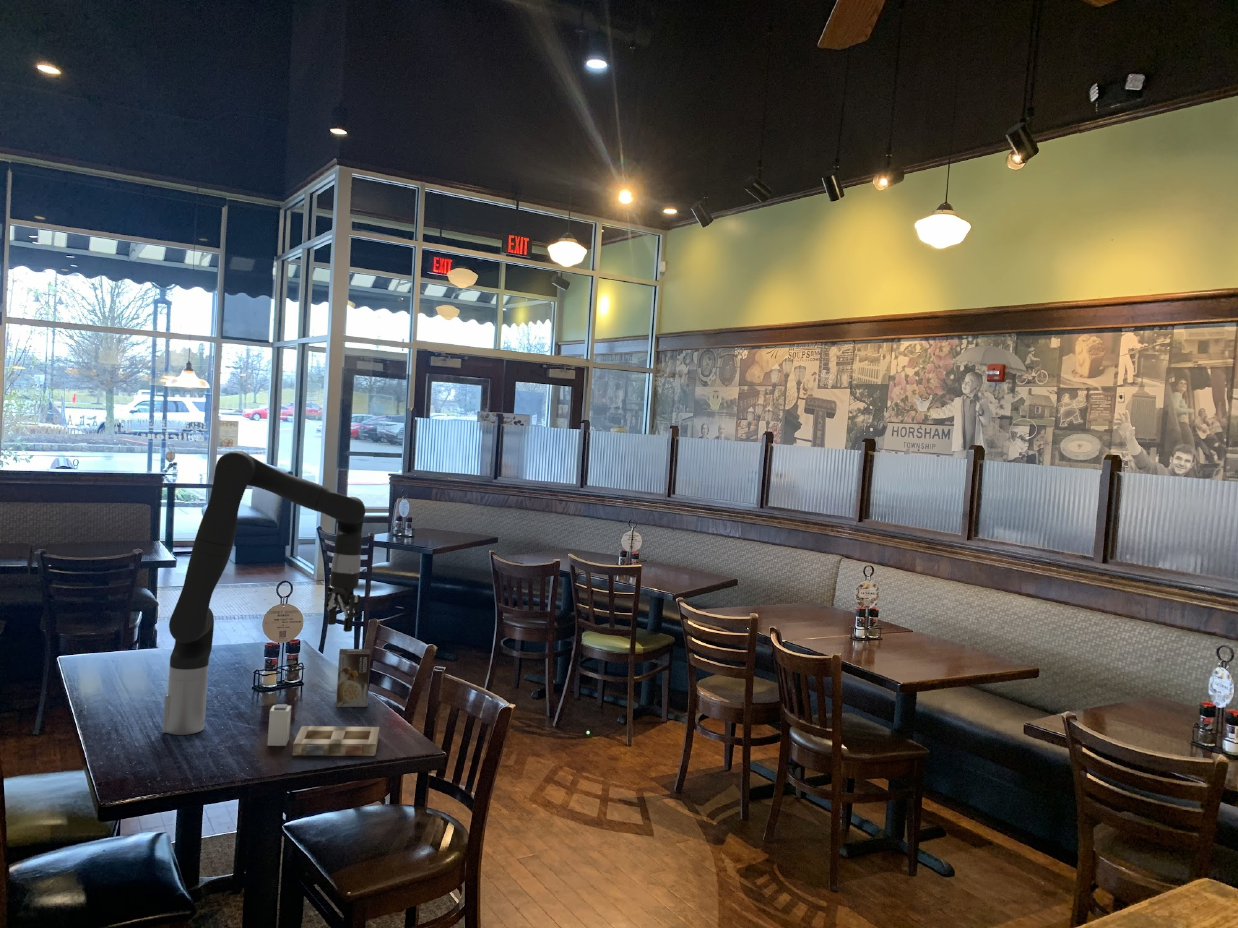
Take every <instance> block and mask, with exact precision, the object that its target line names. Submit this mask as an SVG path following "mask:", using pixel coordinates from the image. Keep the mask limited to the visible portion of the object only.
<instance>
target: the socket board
mask: <svg viewBox="0 0 1238 928" xmlns="http://www.w3.org/2000/svg"><path fill="white" fill-rule="evenodd" d="M379 737H380V726H339V725H338V726H336V725H335V726H329V725H328V726H320V725H315V726H314V725H302V726H301V727H300V729H299V730H298V733H297V735H296V738H295V740H294V741H293V745H292V746H293V747H292V756H335V757H337V756H338V757H339V756H340V757H341V756H346V757H347V756H349V757H350V756H358V757H359V756H360V757H361V756H365V757H368V756H370V757H371V756H372V757H374V756H376V752H377V748H378V742H379Z"/></svg>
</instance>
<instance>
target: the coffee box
mask: <svg viewBox="0 0 1238 928" xmlns="http://www.w3.org/2000/svg"><path fill="white" fill-rule="evenodd" d="M338 653H339V654H338V667H337V684H336V685H337V686H336V704H335V706H336V708H353V707H354V708H355V707H356V708H361V707H362V708H363V707H368V704H369V703H368V701H369V699H368V698H369V685H370V683H369V681H370V663H371V662H370V661H371V649H370V648H339V651H338Z"/></svg>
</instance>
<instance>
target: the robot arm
mask: <svg viewBox="0 0 1238 928" xmlns="http://www.w3.org/2000/svg"><path fill="white" fill-rule="evenodd" d="M247 486H249V487H254V488H259V489H262V490H265V491H266V492H270V493H273V494H275V495H277V496H279V497H281V498H283V499H285V500H287V501H288V502H291V503H293V504H296V505H298V506H300V507H304V508H306V509H309V510H312V511H314V512H317V513H321V514H324V515H325V516H329V517H331V518H332V519H335V520H337V532H336V535H335V539H334V541H335V542H334V548H333V549H334V550H333V555H332V562H331V570H330V577H329V578H330V580H329V586H326V590H325V595H324V596H325V597H324V598H325V599H324V605H323V606H324V608H327V609H326V610H327V611H328V615H327V625H329V626H332V625H336V624H337V618H338V617H337V616H338V609H339V607H340V609H341V611H342V612H343V614H344V617H345V618H344V620H343V632H344V633H348V632H352V631H353V627H354V626H353V623H354V618H358V617H359V616H360V607H361V595H360V594H354V593H355V592H354V591H355V589H356V588H358V587H359V581H360V572H361V559H362V558H361V553H362V544H363V542H362V540H363V538H362V532H363V531H362V530H363V525H364V518H365V515H366V506H365V503H364V502H363V501H362V500H361V499H360V498H359V497H356V496H347V495H344V494H341V493H339V492H335V491H334V490H332V489H331V488H328V487H327V486H323V485H321V484H318V483H316V482H313V481H310V480H307V479H305V478H302V477H298V476H295V475H293V474H290V473H287V472H285V471H281V470H279V469H276V468H275V467H272V466H270V465H268V464H266V463H265V462H262V461H260V460H259V459H257V458H255V457H253V456H251V455H250V454H249V453H247V452H246V451H242V450H232V451H227V452H226V453H224V454H222V455H221V456H220V457H219V459H218V460H217V461H216V464H215V469H214V476H213V482H212V487H211V491H210V497H209V501H208V504H207V507H206V508H205V510H204V514H203V516H202V518H201V521H200V524H199V526H198V530H197V532H196V536H195V539H194V542H193V545H192V549H191V552H190V558H189V561H188V564H187V569H186V573H185V579H184V583H183V586H182V589H181V591H180V595H179V597H178V600H177V602H176V604H175V607H174V610H172V613H171V617H170V618H169V621H168V622H169V623H168V628H169V633H170V635H171V636H172V638H173V639H174V640H175V641H174V646H173V650H172V651H171V652H172V653H170V658H169V671H168V684H167V685H168V687H167V694H166V695H165V697H164V707H163V724H162V734H166V733H167V734H170V735H175V736H184V735H185V736H186V735H192V734H197V733H199V732H202V731H203V730H204V729H205V722H206V720H205V719H206V708H207V707H206V706H207V693H208V692H207V691H208V675H209V664H210V662H209V661H210V656H211V652H212V647H213V639H214V631H215V630H214V629H215V617H214V613H213V611H212V609H211V608H210V605H211V604H210V603H211V599H212V596H213V594H214V591H215V588H216V586H217V584H218V582H219V580H220V579H221V577H222V575H223V573H224V572H225V569H226V567H227V565H228V562H229V559H230V556H231V553H232V550H233V547H234V543H235V538H236V534H237V529H238V527H237V526H238V515H239V509H240V505H241V501H242V500H243V496H244V495H245V492H246V489H247Z"/></svg>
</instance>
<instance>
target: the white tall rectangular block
mask: <svg viewBox="0 0 1238 928" xmlns="http://www.w3.org/2000/svg"><path fill="white" fill-rule="evenodd" d="M291 714H292V705H288V704H285V703H284V704H283V703H282V704H280V703H279V704H278V703H277V704H275V705H272V706H271V708H270V709H269V717H268V718H269V720H268V734H267V746H269V747H271V746H273V747H275V746H276V747H281V746H283V747H286V746H287V744H288V742H289V740H290V731H291V716H292V715H291Z"/></svg>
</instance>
